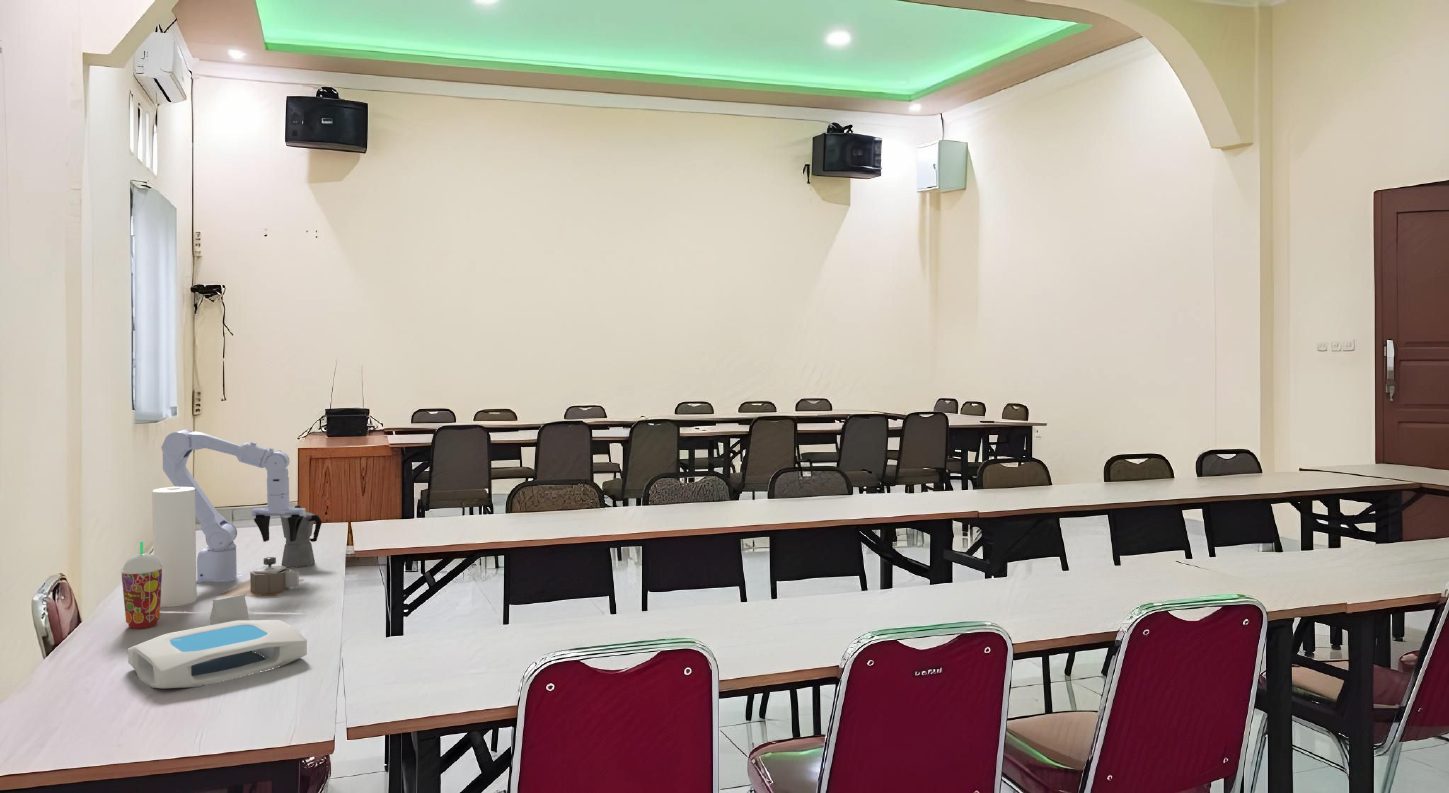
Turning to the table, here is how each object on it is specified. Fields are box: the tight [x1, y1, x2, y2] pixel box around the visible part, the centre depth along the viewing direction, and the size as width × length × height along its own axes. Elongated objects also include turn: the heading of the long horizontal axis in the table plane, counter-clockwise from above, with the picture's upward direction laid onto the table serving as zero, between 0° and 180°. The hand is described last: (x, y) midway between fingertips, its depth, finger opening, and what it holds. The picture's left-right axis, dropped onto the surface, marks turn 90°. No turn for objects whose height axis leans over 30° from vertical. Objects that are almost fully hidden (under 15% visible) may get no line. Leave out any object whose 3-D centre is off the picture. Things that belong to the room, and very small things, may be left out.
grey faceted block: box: [249, 565, 300, 594], centre depth 257 cm, size 12×9×6 cm
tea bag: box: [209, 594, 250, 625], centre depth 214 cm, size 4×7×10 cm, turn 143°
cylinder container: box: [151, 486, 198, 608], centre depth 243 cm, size 9×9×30 cm
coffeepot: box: [280, 504, 323, 568], centre depth 288 cm, size 15×9×18 cm, turn 70°
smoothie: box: [120, 541, 163, 630], centre depth 225 cm, size 8×8×20 cm
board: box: [217, 578, 305, 597], centre depth 259 cm, size 15×18×1 cm
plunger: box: [263, 556, 277, 570], centre depth 257 cm, size 7×7×8 cm
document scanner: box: [127, 619, 308, 689], centre depth 198 cm, size 21×28×6 cm
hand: (279, 540), depth 273 cm, fingers open, 7 cm apart
